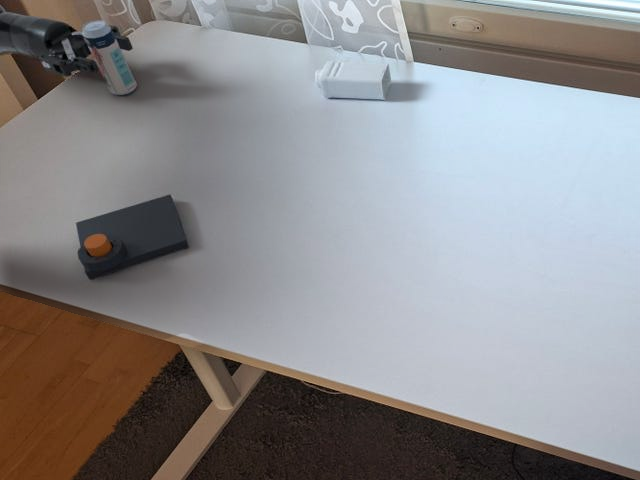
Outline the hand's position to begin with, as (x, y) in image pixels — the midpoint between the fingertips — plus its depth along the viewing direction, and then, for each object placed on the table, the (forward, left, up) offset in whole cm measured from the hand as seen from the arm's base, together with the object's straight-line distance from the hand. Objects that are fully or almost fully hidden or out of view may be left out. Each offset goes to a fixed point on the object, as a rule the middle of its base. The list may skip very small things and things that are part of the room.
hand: (113, 55), depth 121 cm
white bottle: (+37, -21, -7) cm, 43 cm away
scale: (-6, -43, -7) cm, 44 cm away
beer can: (-1, +1, -7) cm, 7 cm away
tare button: (-10, -47, -4) cm, 48 cm away
